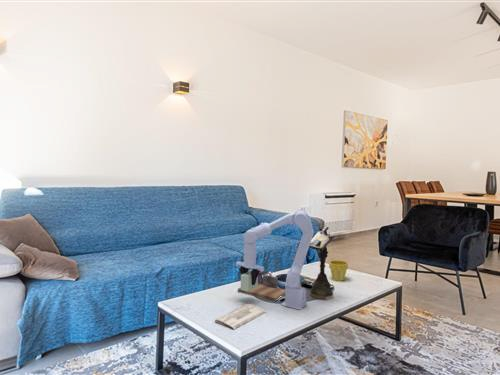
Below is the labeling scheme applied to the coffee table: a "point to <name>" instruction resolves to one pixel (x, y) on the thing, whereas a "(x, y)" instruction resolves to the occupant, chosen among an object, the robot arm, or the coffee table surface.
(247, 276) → the pale green rectangular block
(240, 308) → the newspaper
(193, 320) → the coffee table surface
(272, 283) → the shelf board
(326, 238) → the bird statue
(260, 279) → the game card
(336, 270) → the plant pot
